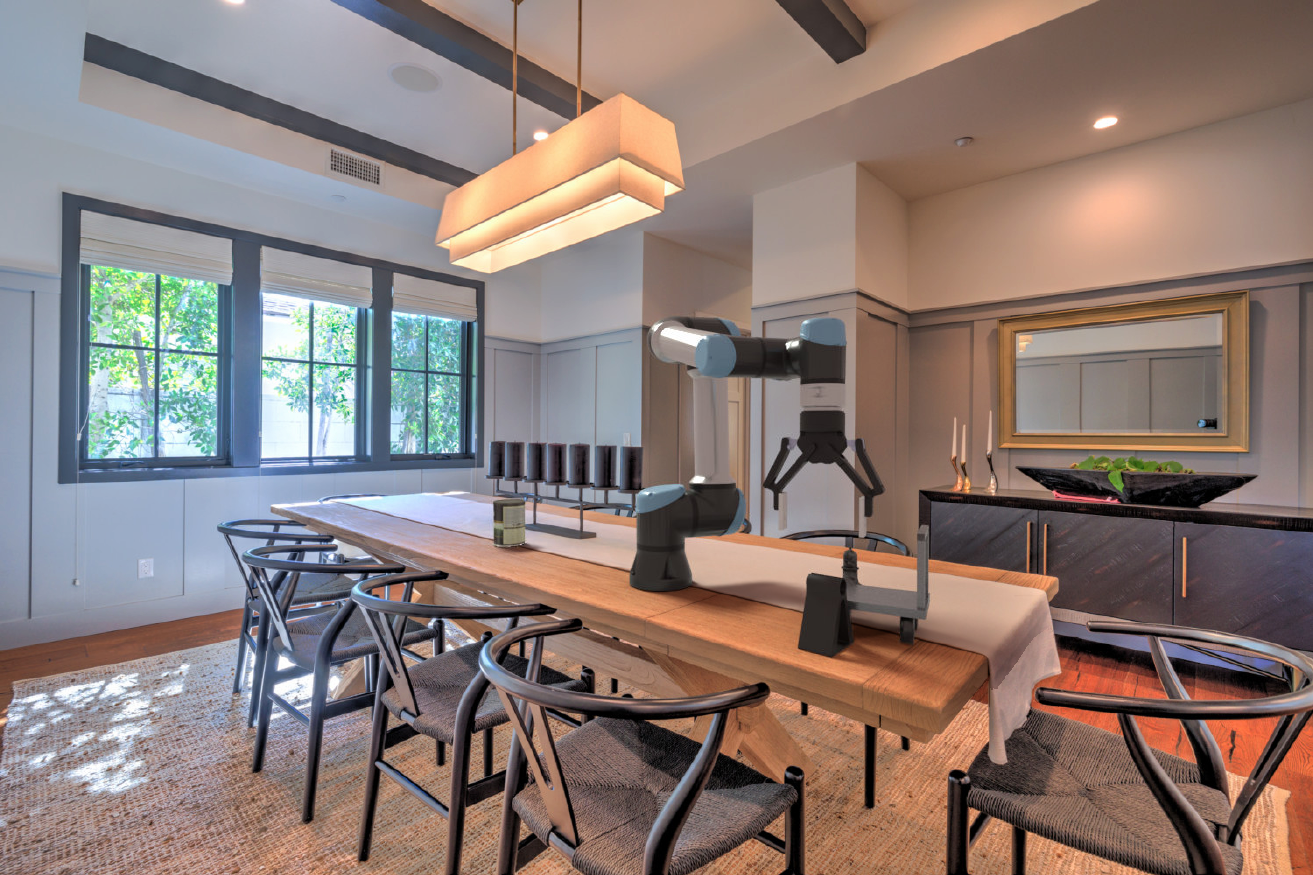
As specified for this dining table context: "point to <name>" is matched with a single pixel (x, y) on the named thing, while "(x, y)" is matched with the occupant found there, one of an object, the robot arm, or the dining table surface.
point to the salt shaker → (850, 567)
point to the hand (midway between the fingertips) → (821, 532)
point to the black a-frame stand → (825, 616)
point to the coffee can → (509, 522)
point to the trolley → (898, 595)
